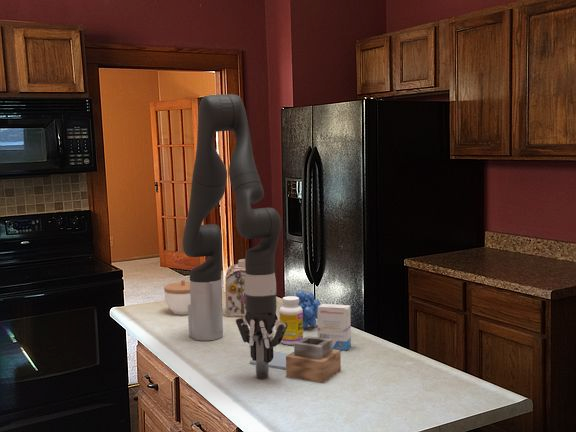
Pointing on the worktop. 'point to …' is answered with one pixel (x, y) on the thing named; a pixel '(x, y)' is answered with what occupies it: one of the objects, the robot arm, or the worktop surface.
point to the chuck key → (260, 357)
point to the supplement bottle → (291, 320)
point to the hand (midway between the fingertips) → (262, 360)
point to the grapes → (308, 308)
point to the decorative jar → (235, 290)
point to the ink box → (335, 325)
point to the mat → (276, 360)
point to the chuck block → (313, 359)
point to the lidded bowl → (178, 297)
